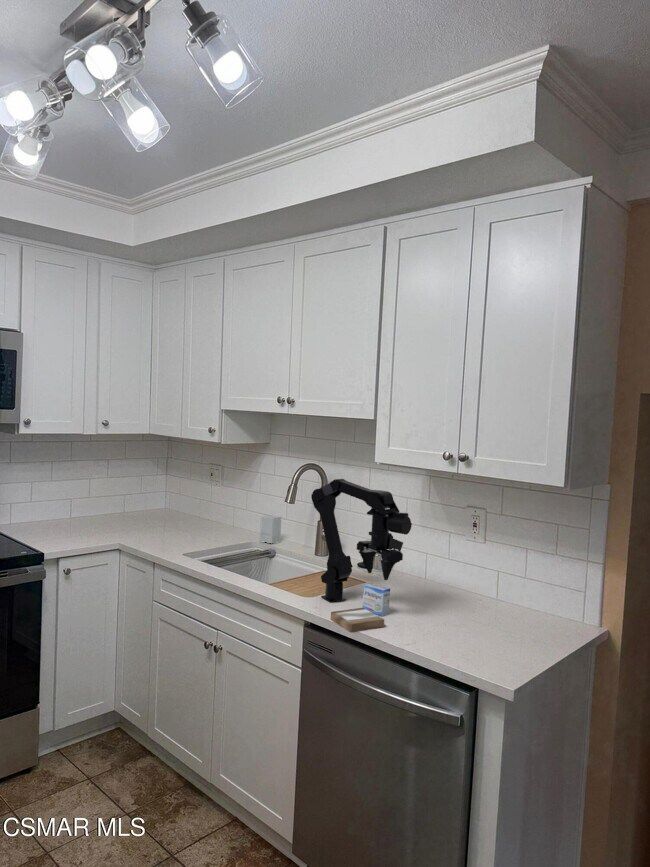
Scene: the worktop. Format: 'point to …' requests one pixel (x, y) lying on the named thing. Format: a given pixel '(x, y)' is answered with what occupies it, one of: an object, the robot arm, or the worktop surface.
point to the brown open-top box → (357, 619)
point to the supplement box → (270, 529)
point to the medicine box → (376, 599)
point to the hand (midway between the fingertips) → (377, 576)
